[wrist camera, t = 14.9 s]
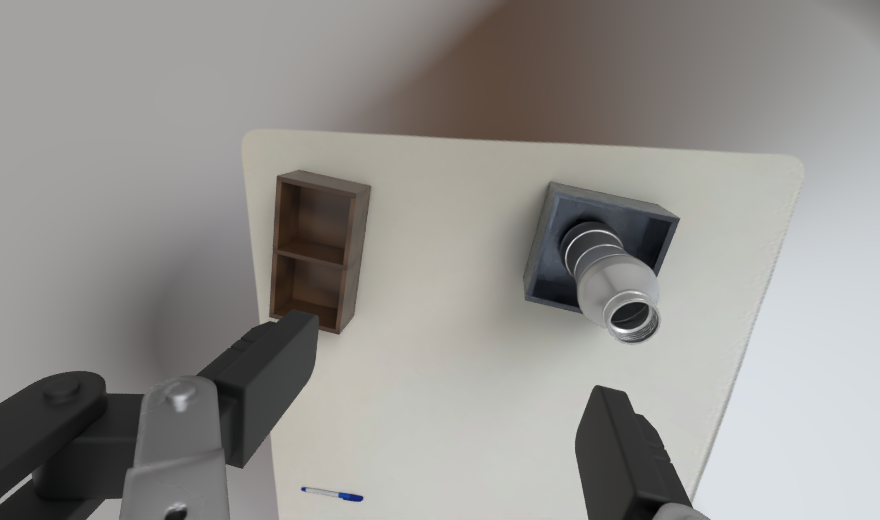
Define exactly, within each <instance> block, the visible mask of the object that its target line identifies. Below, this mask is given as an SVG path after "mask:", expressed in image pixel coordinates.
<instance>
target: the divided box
mask: <svg viewBox="0 0 880 520" xmlns="http://www.w3.org/2000/svg"><path fill="white" fill-rule="evenodd" d="M370 191H371V186H369V185H364V184H360V183H355V182H351V181H346V180H342V179H337V178H333V177H328V176H324V175H319V174H315V173H310V172H306V171H301V170H297V171H294V172H290V173H286V174H282V175H278V176H277V184H276V202H275V220H274V239H273V258H272V276H271V294H270V313H269V317H271V318H275V319H279V320H280V319H281V318H282V317H283V316H285V315H286V314H287V313H288V312H289V311H290V310H292V309H294V310H298V311H302V312H306V313H310V314H315V315H318V317H319V330H323V331H327V332H331V333H335V334H340V333H341V332H342V330H343V329H344V328H345V327H346V325H347V324H348V323H349V321H350V320H351V319H352V318H353V316H354V312H355V304H356V296H357V289H358V281H359V274H360V266H361V259H362V251H363V244H364V236H365V229H366V221H367V214H368V206H369V199H370Z"/></svg>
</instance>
